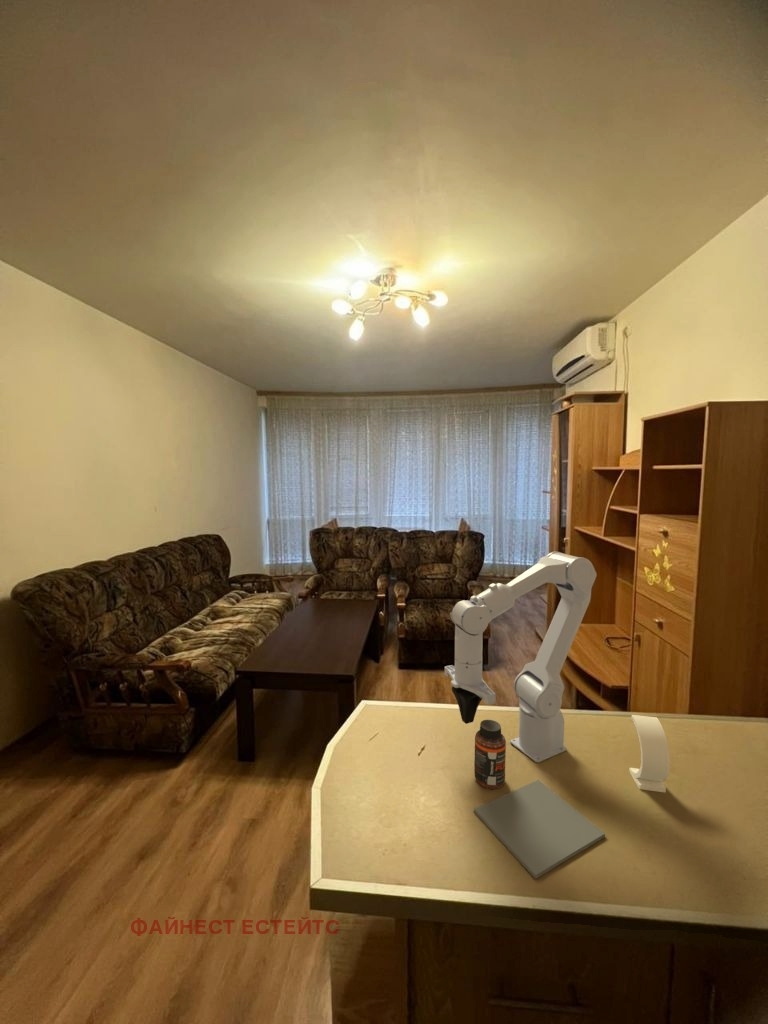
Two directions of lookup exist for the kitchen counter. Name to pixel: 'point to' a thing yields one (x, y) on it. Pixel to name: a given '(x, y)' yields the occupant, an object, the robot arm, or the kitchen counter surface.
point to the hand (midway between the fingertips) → (467, 721)
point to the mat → (538, 827)
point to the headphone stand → (651, 754)
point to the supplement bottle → (490, 755)
